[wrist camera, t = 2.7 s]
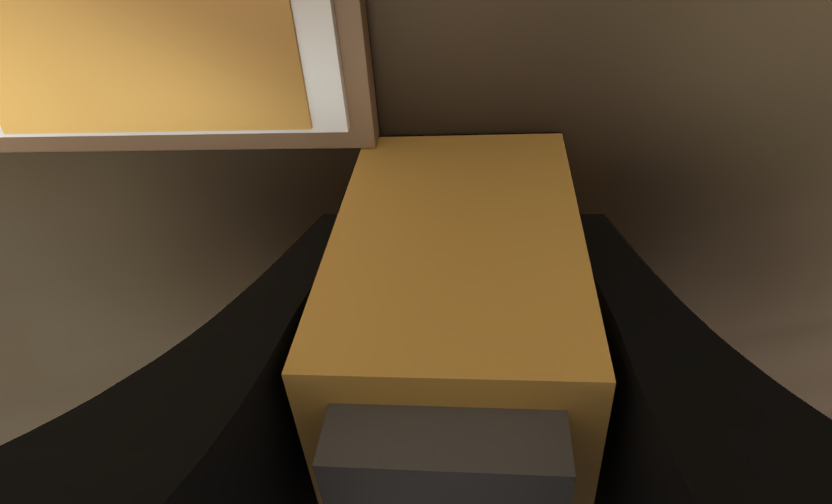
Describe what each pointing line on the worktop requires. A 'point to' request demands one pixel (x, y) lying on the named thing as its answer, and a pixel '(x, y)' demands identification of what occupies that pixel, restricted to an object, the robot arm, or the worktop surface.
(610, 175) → the worktop surface
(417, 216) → the block
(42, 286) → the worktop surface
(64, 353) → the worktop surface
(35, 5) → the compartment tray
